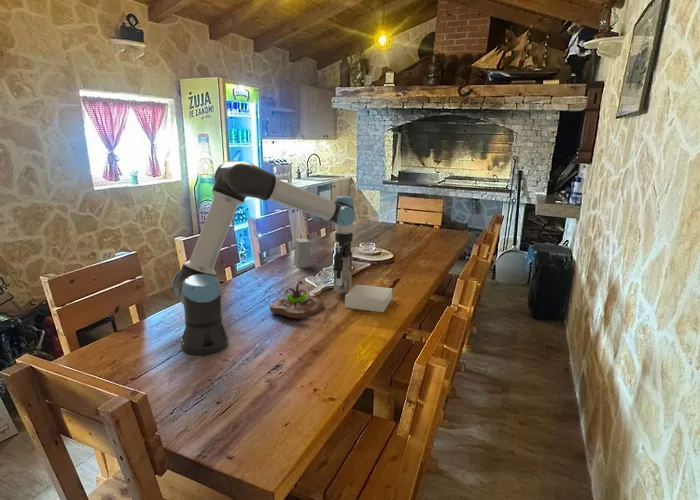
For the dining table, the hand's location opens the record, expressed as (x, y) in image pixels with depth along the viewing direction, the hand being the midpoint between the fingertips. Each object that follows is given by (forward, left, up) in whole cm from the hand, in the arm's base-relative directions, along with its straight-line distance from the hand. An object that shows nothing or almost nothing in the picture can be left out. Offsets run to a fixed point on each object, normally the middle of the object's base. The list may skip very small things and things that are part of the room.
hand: (342, 282), depth 186 cm
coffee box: (0, 0, -3) cm, 3 cm away
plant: (-22, +12, -6) cm, 26 cm away
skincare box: (+32, +34, -6) cm, 47 cm away
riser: (-8, -14, -5) cm, 17 cm away
